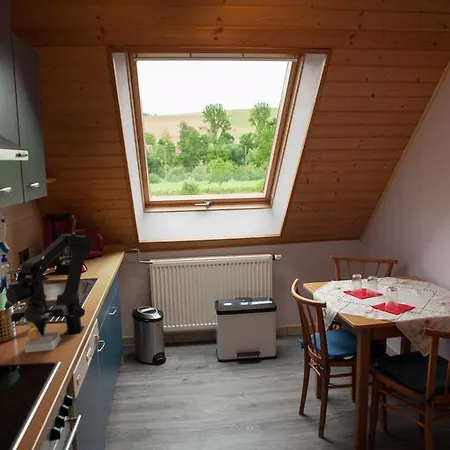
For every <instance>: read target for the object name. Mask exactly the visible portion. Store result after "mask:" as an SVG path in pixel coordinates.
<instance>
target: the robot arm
mask: <svg viewBox="0 0 450 450" xmlns="http://www.w3.org/2000/svg"><path fill="white" fill-rule="evenodd" d="M93 243H94V241H93V240H92V238H91V237H90V236H88V235H72V234H68V233H67V234H65V233H64V234H63V233H62V234H60V235H58V238H57V239H55V240H54V241H53V242H52V243H51V244H49V246H48V247H46V248H45V249H44V250H43V251H42V252H40V254H37V255H36V256H34V257H33V256H32V257H31V258H29V259H27V260H26V261H25V262H23V263H22V264H21V269H20V270H19V273H18V275H17V278H16V280H15V281H16V282H13V283H9V284H8V285H7V287H8V288H7V289H6V291H5V298H6V301H7V302H8V303H10V304H13V305H14V304H17V303H19V302H22V301H25V300H27V307H26V308H23V309H16V310H15V311H14V312H13V313H11V315H10V321H11V323H15V322H20V321H21V320H22V319H23V318H24V319H25V321H26V322H28V323H29V322H32V323H33V324H34V325H35V326H36V327H37V329H38V331H39V332H40V334H41V335H42V336H43V335H44V333H46V327H47V324H48V321H49V320H50V318H51V317H53V318H65V325H66V326H65V328H66V330H65V331H64V335H69V334H70V335H71V334H80V333H82V332H83V329H84V328H85V326H84V325H82V320H81V319H82V317H83V316H85V312H86V310H85V309H84V308H83V307H82V306H80V298H79V295H78V292H79V287H80V281H81V277H82V273H83V267H84V264H85V259H86V257H87V256H88V255H89V254H90V252H91V250H92V248H93ZM67 247H69V249H70V250H69V251H70V253H71V260H70V265H69V269H68V272H67V277H66V282H65V286H64V290H63V292H62V293H61V294H57V296H56V302H55V303H54V305H55V306H54V307H53V308H50V309H48V308H49V305H48V304H47V294H46V292H45V285H44V281H48V280H49V277H46V276H45V275H44V274H45V273H46V271H47V270H48V268H49V265H50V263H51V262H53V260H55V259H56V257H58V256H59V255H60V254H61V253H62V252H63V251H64V250H65V249H67Z"/></svg>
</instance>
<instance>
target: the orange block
mask: <svg viewBox="0 0 450 450" xmlns="http://www.w3.org/2000/svg"><path fill="white" fill-rule="evenodd" d="M27 336H28V341H31V340H40V339H41V334H40V332H39V331H38V329H37V328H32V329H29V330H28V332H27Z"/></svg>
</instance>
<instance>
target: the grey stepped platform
mask: <svg viewBox="0 0 450 450" xmlns="http://www.w3.org/2000/svg"><path fill="white" fill-rule="evenodd" d="M61 340H62V339H61V333H59V332H58V331H51V332H45V333H44V335H43V336H42V335H41V339H40V340H31V341H29V340H26V342H25V345H24V352H25V353H35V352H43V351H46V352H47V351H53V350H55V348H56V347H57V345H58V344H59V343H60V342H61Z"/></svg>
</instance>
